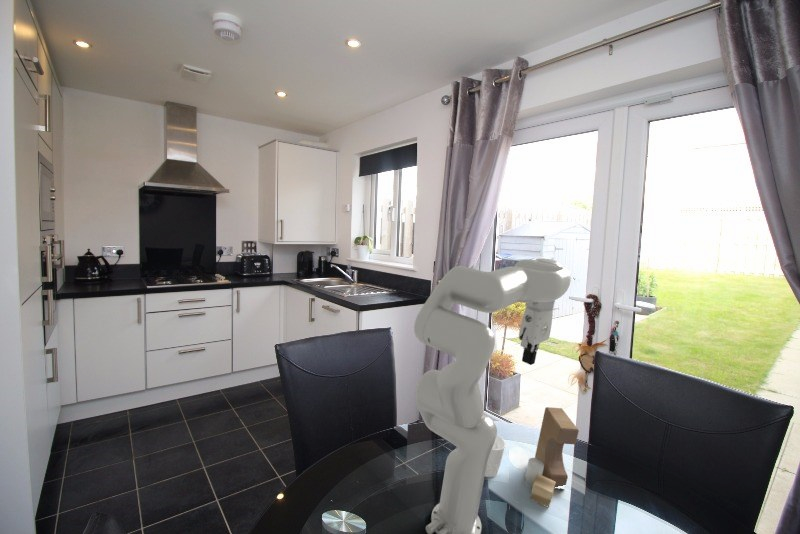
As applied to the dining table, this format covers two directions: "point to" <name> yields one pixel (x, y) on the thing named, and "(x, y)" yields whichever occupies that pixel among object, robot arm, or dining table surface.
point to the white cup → (495, 457)
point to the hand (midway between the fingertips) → (528, 362)
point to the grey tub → (533, 470)
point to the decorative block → (555, 443)
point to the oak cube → (543, 490)
